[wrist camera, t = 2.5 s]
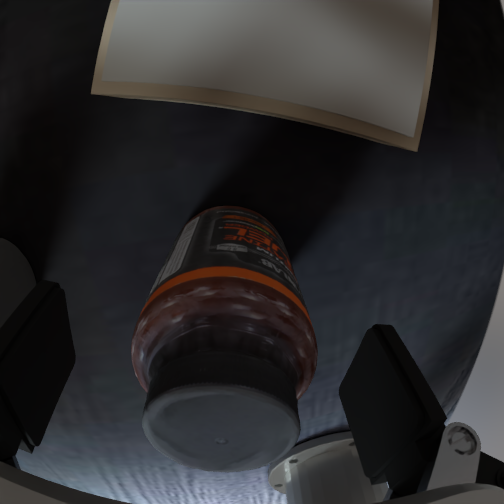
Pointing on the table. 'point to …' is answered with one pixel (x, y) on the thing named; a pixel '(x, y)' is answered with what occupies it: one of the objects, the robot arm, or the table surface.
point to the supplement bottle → (224, 345)
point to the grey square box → (279, 60)
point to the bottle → (13, 279)
